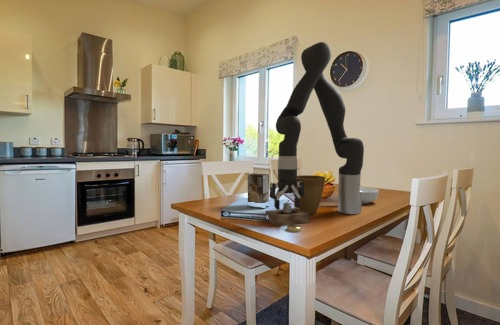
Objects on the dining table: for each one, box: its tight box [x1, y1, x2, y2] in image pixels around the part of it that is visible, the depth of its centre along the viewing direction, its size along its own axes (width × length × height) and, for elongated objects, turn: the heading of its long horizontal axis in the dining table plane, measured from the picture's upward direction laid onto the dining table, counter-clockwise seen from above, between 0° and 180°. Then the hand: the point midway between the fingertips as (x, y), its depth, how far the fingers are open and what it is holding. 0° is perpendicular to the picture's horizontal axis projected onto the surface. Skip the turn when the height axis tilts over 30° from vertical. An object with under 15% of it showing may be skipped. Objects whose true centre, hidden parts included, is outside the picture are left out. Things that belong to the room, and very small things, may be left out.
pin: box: [282, 202, 292, 214], centre depth 109 cm, size 3×3×7 cm
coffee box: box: [247, 172, 270, 203], centre depth 133 cm, size 9×6×16 cm
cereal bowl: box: [360, 186, 379, 205], centre depth 145 cm, size 17×17×7 cm
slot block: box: [265, 207, 310, 227], centre depth 109 cm, size 14×10×4 cm
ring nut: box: [286, 224, 303, 233], centre depth 98 cm, size 5×5×2 cm
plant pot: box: [296, 174, 326, 215], centre depth 123 cm, size 15×15×16 cm
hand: (287, 208), depth 109 cm, fingers open, 8 cm apart
